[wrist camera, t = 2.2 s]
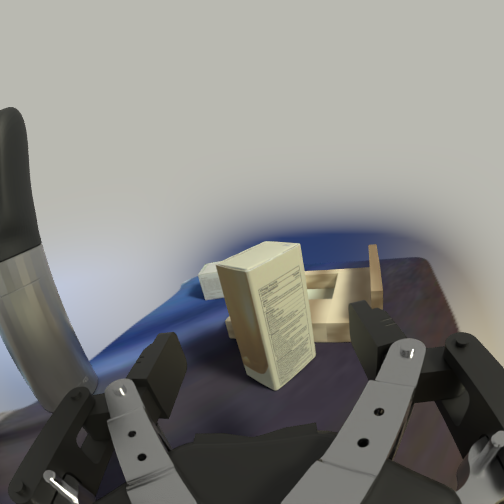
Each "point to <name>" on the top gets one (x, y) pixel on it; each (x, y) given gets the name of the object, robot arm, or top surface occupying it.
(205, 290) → the small box
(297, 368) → the skincare box
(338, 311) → the rack
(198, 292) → the top surface
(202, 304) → the top surface
